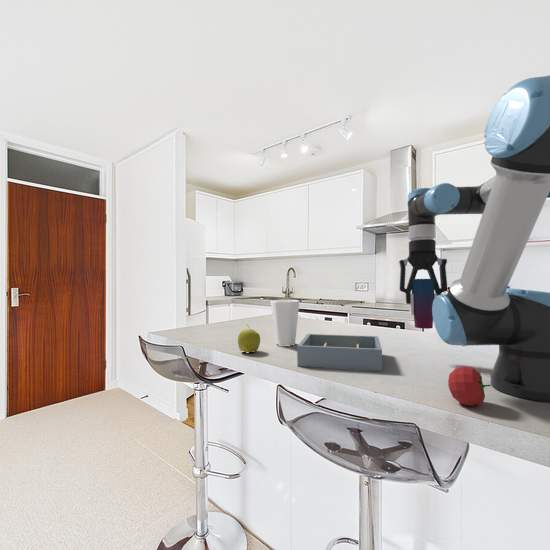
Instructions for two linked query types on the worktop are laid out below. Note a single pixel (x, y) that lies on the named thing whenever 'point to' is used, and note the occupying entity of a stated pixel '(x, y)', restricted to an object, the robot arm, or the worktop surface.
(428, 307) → the cup
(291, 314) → the cup
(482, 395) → the tomato
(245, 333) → the apple
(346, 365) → the walled box
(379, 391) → the worktop surface
